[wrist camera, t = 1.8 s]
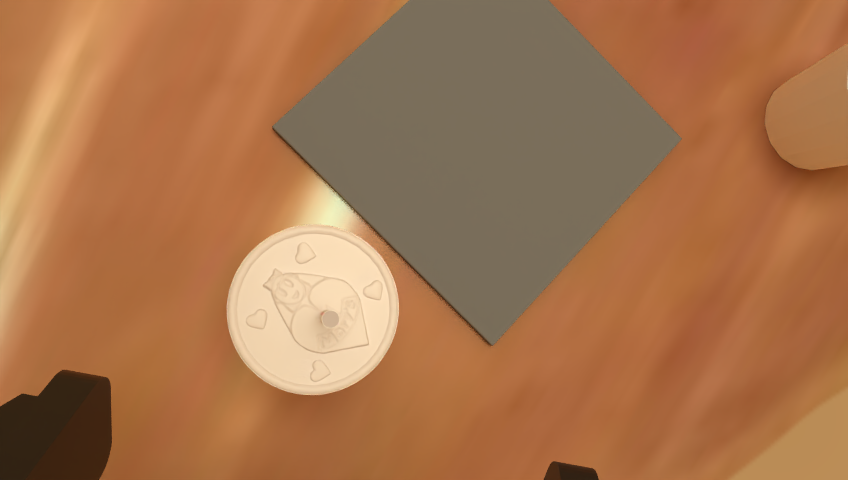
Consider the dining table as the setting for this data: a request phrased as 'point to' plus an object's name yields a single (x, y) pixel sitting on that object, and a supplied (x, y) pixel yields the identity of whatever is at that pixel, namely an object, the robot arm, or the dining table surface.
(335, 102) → the mat
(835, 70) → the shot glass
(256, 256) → the smoothie
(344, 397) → the dining table surface
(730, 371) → the dining table surface
